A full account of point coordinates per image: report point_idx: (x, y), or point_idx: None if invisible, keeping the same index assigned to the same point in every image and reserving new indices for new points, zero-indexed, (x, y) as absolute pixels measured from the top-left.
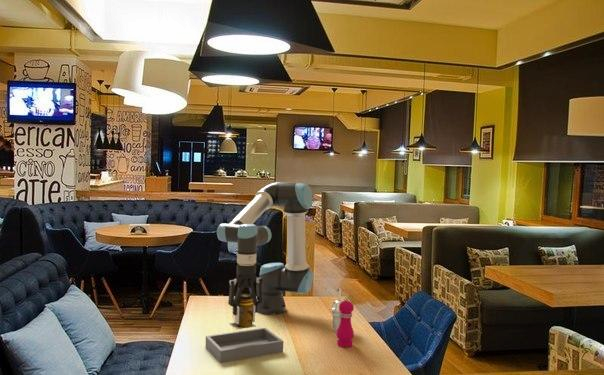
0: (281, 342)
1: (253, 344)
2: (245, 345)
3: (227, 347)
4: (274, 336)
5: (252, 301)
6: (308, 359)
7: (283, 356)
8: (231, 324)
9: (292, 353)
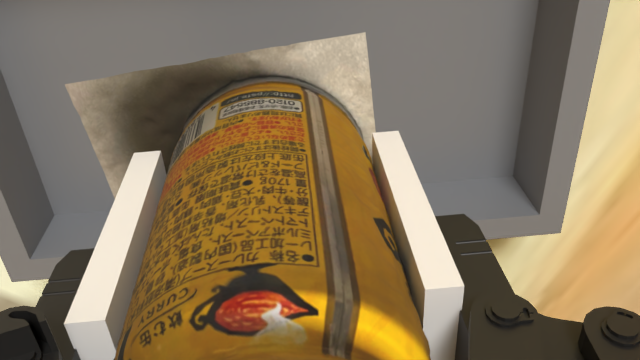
0: (539, 229)
1: (374, 23)
2: (297, 23)
3: (123, 17)
4: (560, 123)
5: (470, 330)
6: (590, 308)
7: (487, 240)
8: (102, 111)
9: (568, 215)
